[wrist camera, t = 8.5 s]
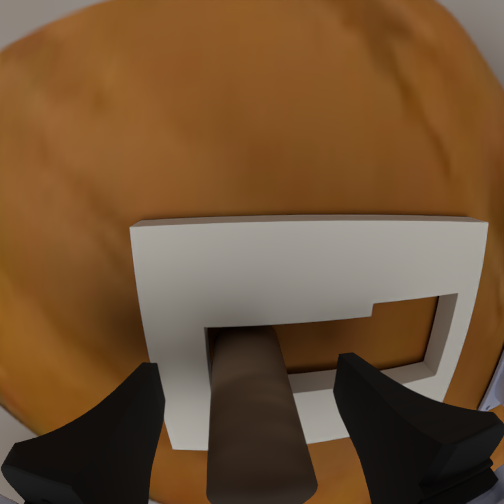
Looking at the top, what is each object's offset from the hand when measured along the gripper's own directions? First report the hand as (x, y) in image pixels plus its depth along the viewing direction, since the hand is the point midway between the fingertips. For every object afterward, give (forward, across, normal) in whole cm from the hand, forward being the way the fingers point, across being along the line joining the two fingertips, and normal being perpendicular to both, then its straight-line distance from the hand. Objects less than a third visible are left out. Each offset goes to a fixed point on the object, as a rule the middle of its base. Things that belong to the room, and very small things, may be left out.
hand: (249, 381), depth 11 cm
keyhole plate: (+3, -4, 0) cm, 5 cm away
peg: (+3, 0, 0) cm, 3 cm away
